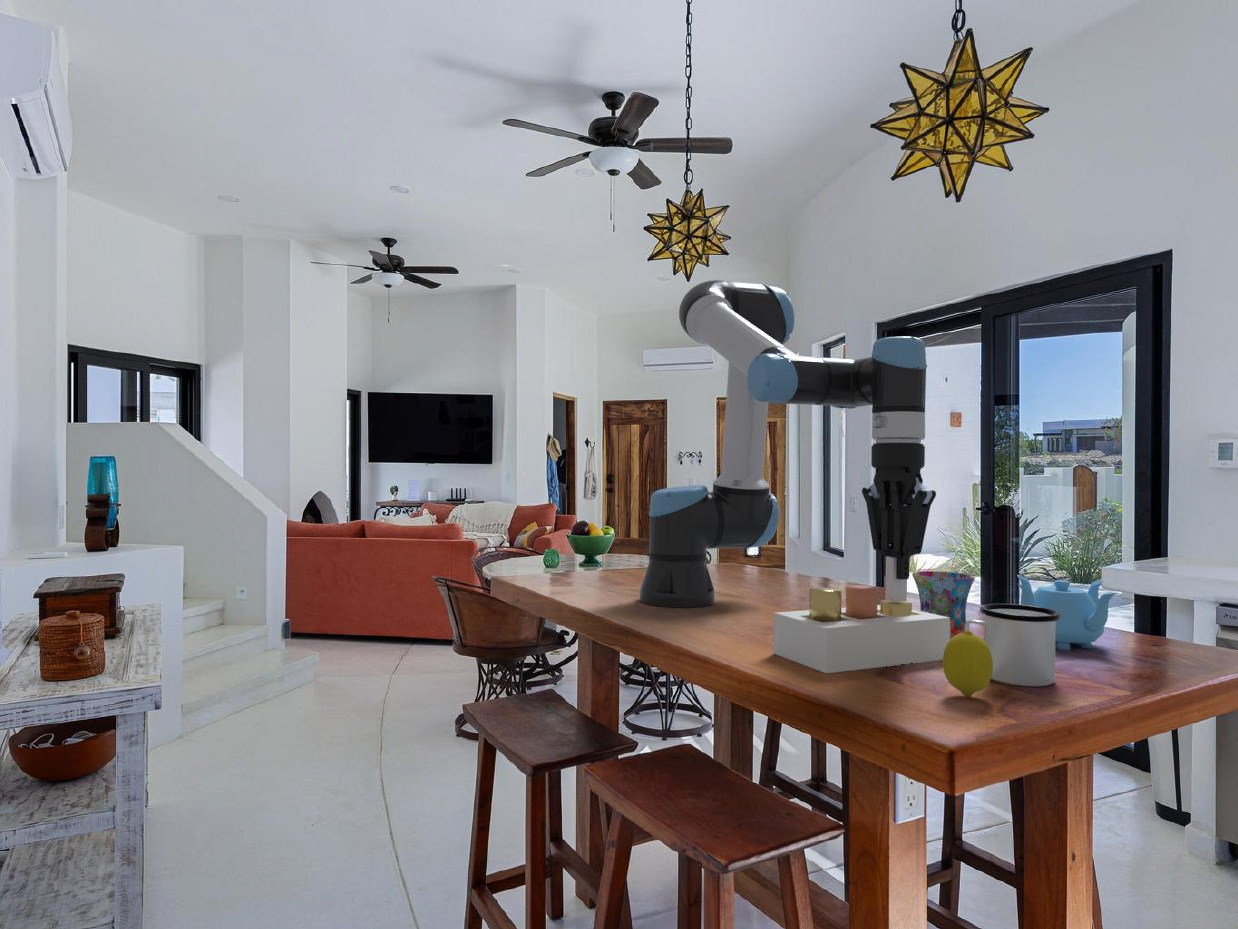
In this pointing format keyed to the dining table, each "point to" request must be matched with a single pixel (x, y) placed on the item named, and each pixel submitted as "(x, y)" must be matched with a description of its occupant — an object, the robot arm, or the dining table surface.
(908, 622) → the block
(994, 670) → the mug
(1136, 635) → the dining table surface
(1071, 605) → the teapot
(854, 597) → the knob mid
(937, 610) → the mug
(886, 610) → the knob far
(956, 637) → the lemon
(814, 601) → the knob near
